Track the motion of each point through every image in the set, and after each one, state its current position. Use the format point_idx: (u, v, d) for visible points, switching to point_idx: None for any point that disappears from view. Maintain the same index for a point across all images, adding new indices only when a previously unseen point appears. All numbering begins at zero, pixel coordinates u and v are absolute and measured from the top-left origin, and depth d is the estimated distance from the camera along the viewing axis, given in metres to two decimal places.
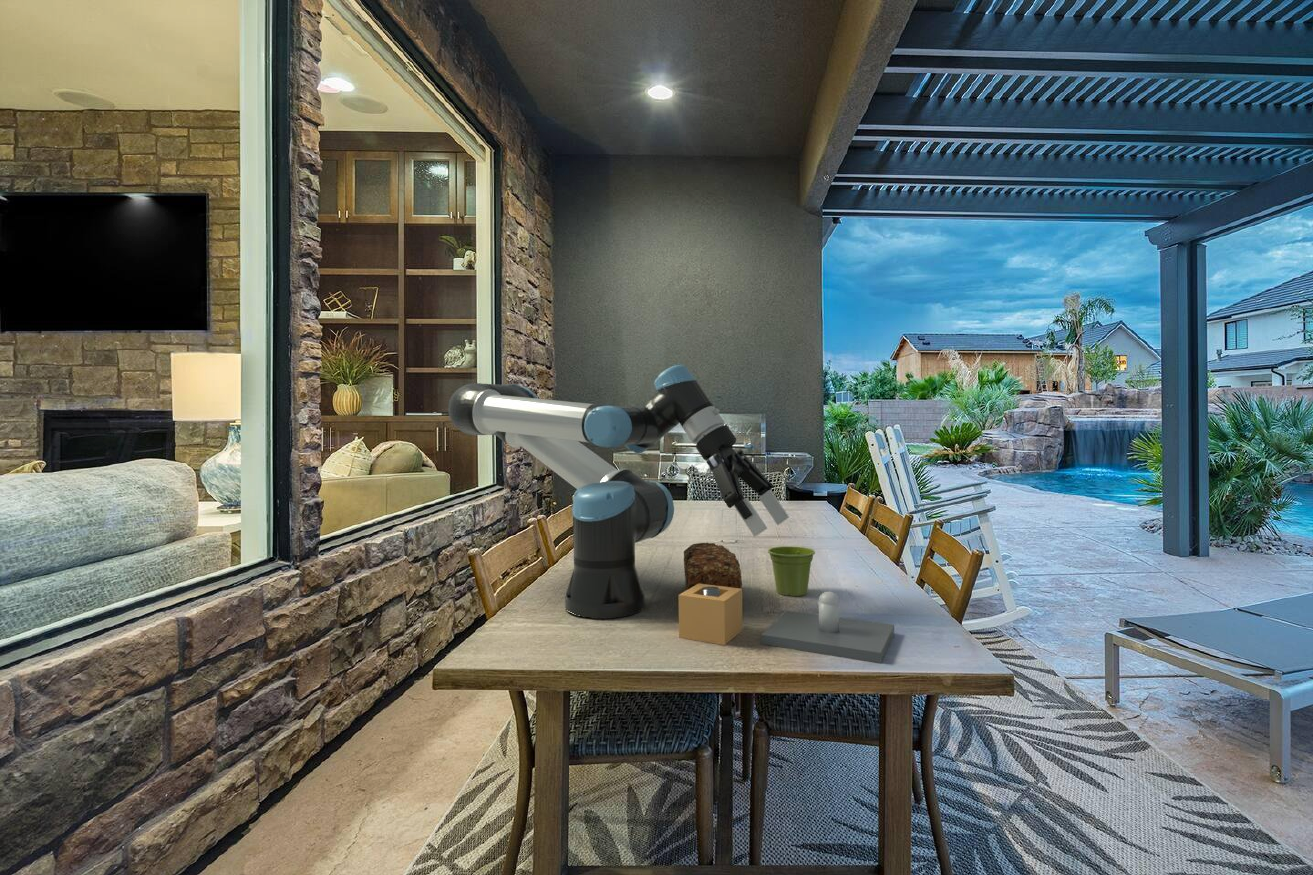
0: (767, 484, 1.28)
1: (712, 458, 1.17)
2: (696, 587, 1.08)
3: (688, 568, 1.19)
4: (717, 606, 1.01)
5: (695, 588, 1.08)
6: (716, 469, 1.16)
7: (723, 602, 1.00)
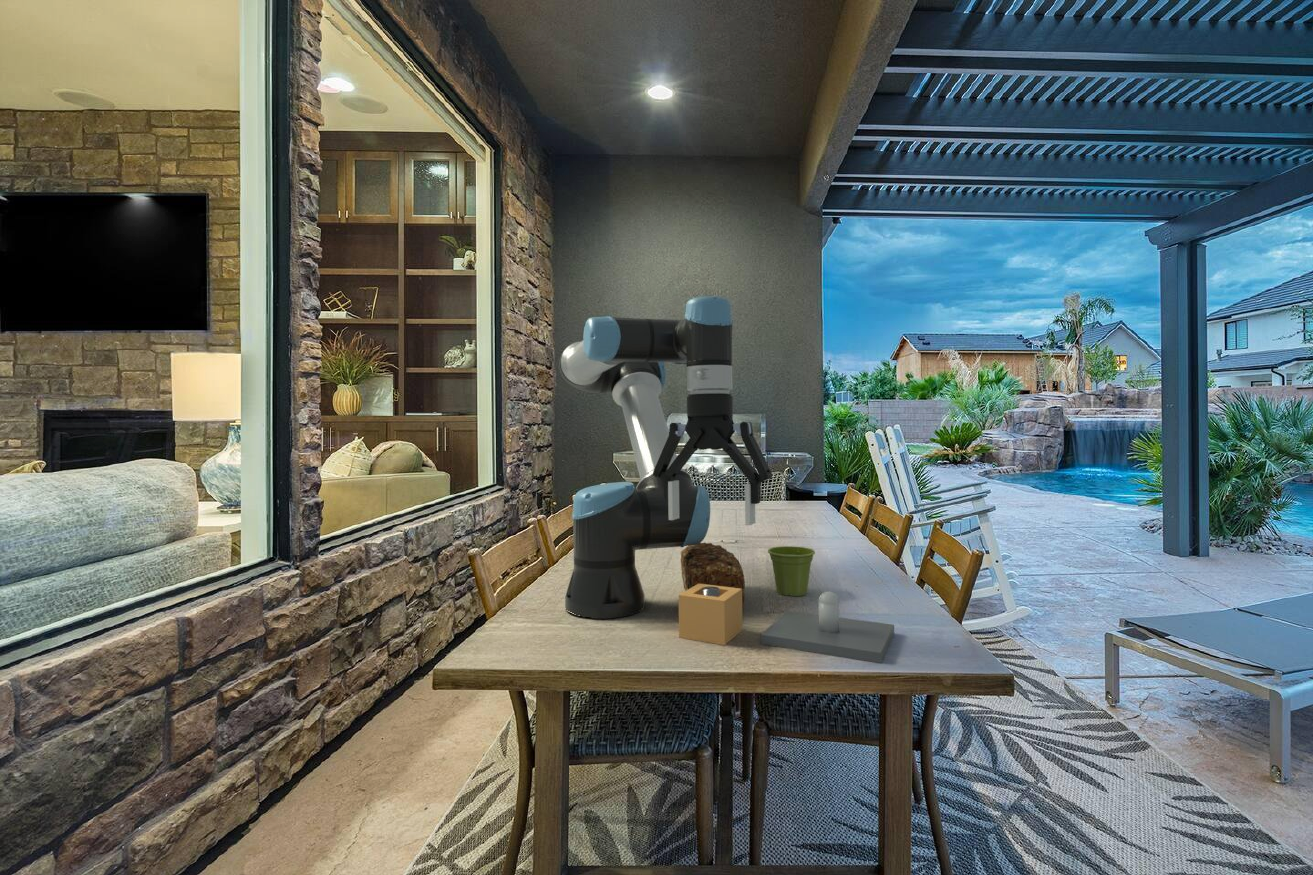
0: (754, 476, 1.00)
1: None
2: (696, 587, 1.08)
3: (691, 568, 1.18)
4: (717, 606, 1.01)
5: (695, 588, 1.08)
6: None
7: (723, 602, 1.00)
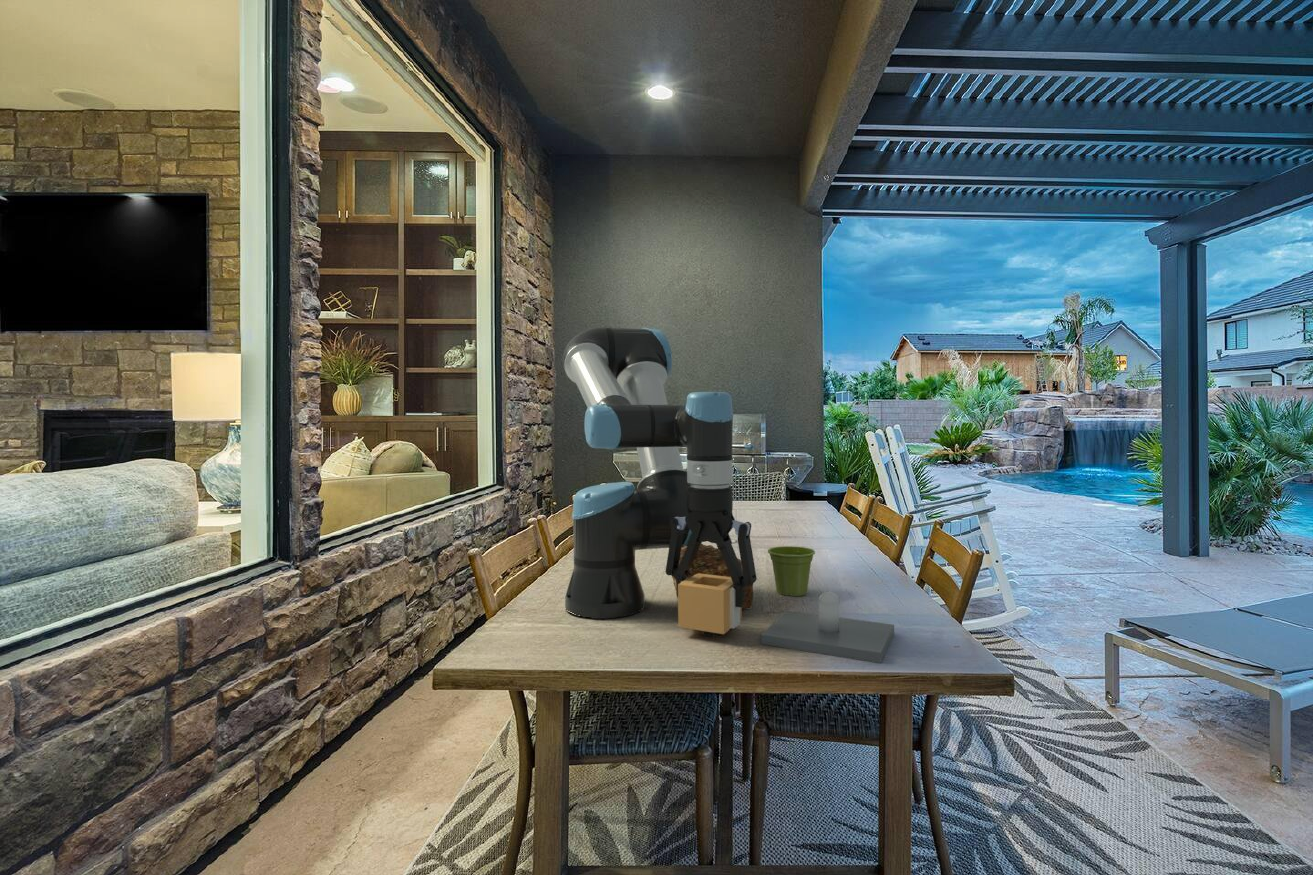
0: (739, 581, 1.02)
1: None
2: (696, 576, 1.09)
3: (702, 569, 1.17)
4: (716, 595, 1.01)
5: (694, 578, 1.08)
6: None
7: (722, 591, 1.01)
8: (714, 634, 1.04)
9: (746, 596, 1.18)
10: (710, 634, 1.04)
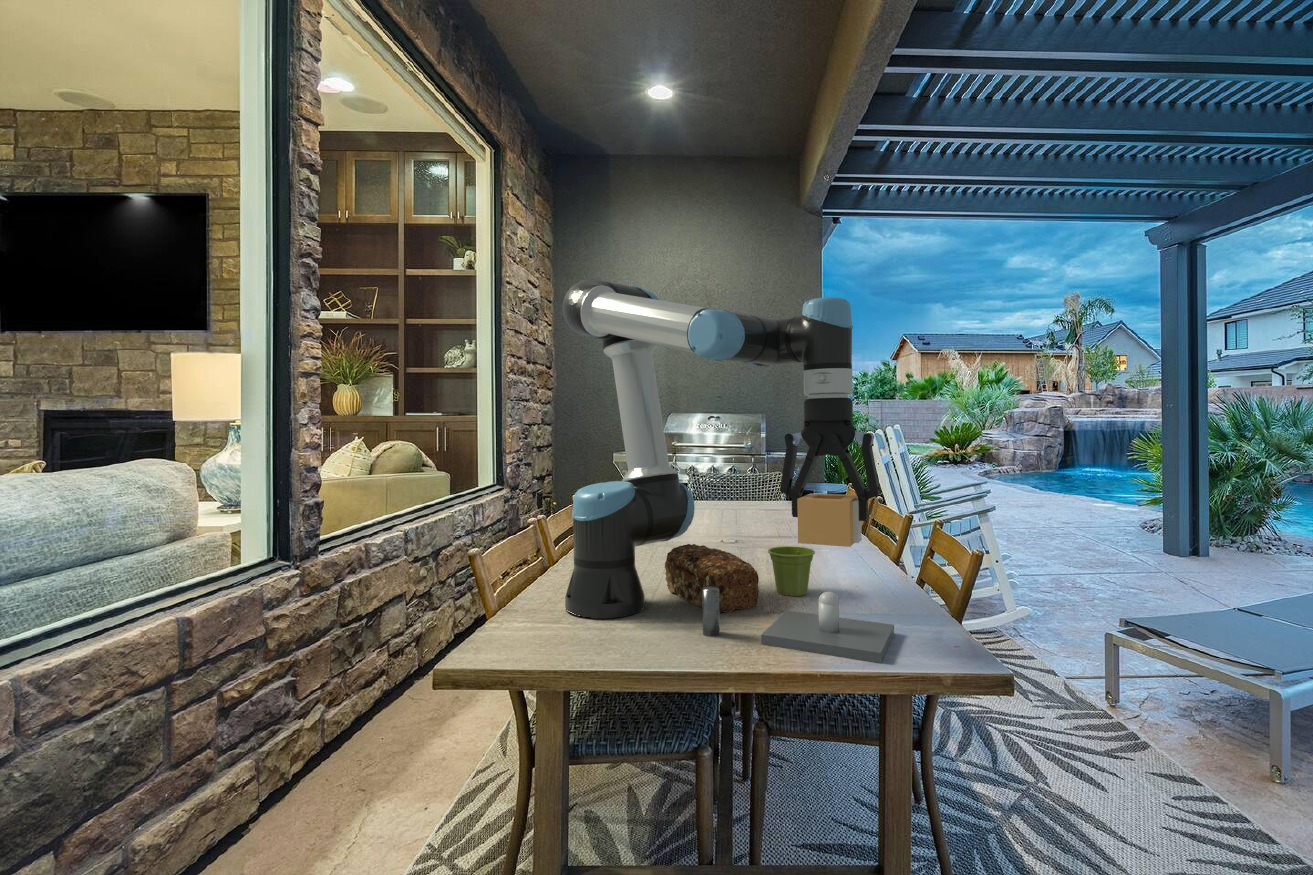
0: (863, 493, 0.98)
1: None
2: (811, 495, 1.05)
3: (712, 570, 1.17)
4: (842, 506, 0.97)
5: (810, 495, 1.04)
6: None
7: (848, 502, 0.96)
8: (714, 634, 1.04)
9: (752, 594, 1.20)
10: (710, 634, 1.04)
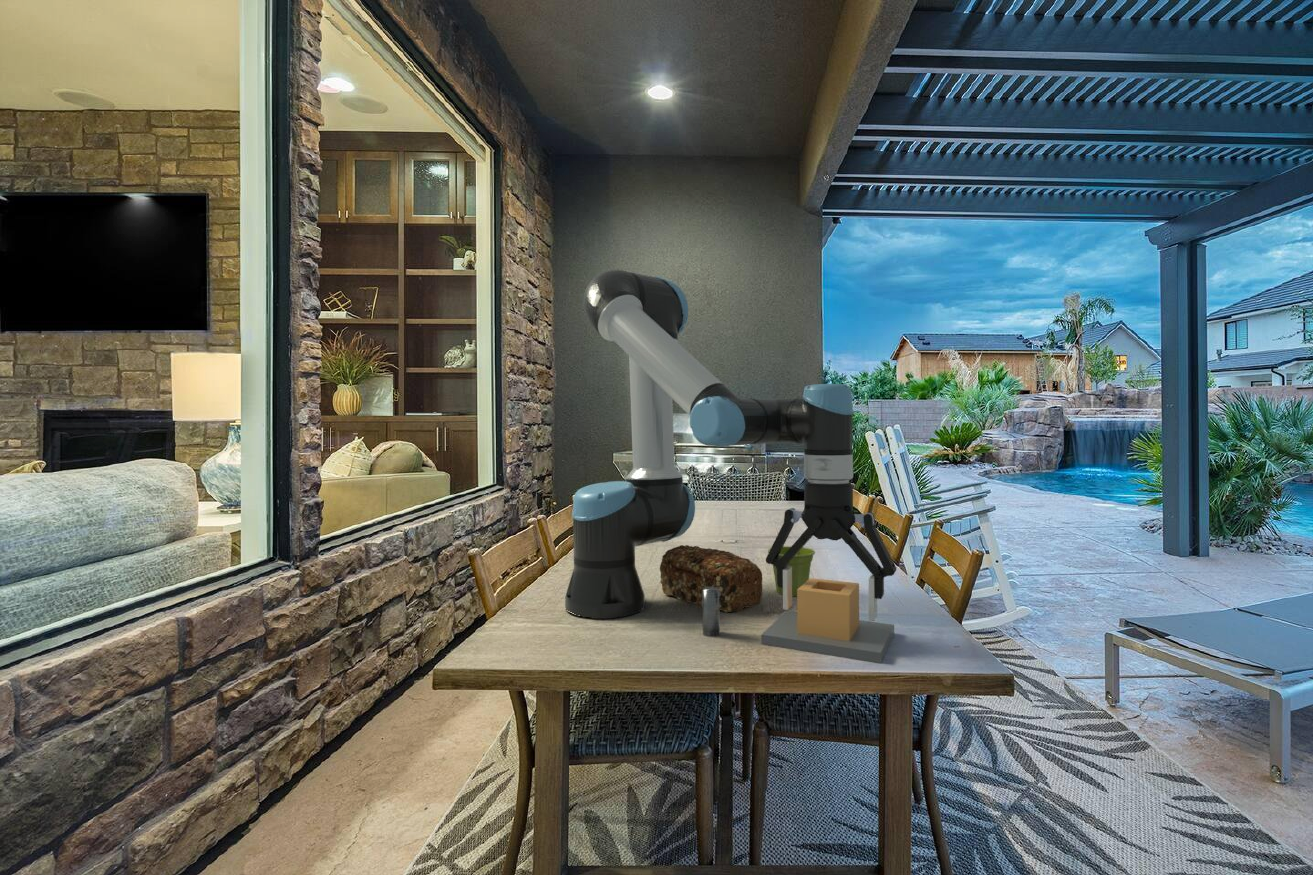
0: (878, 571, 0.97)
1: None
2: (810, 581, 1.05)
3: (723, 570, 1.17)
4: (841, 600, 0.97)
5: (810, 583, 1.04)
6: None
7: (848, 597, 0.97)
8: (714, 634, 1.04)
9: (757, 591, 1.22)
10: (710, 634, 1.04)
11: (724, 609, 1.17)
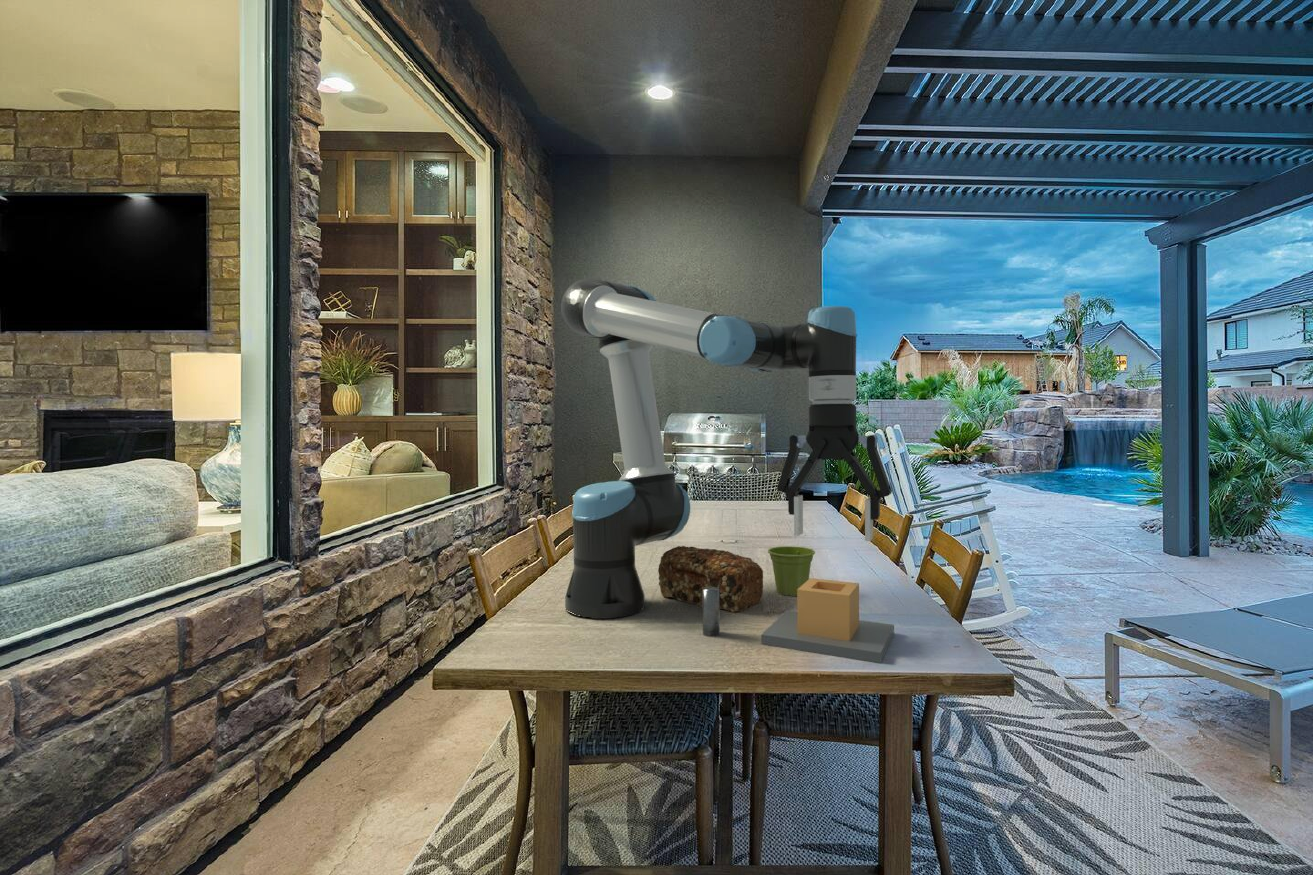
0: (875, 492, 1.00)
1: None
2: (810, 581, 1.05)
3: (730, 569, 1.17)
4: (841, 600, 0.97)
5: (810, 583, 1.04)
6: None
7: (848, 597, 0.97)
8: (714, 634, 1.04)
9: (759, 590, 1.23)
10: (710, 634, 1.04)
11: (731, 609, 1.17)
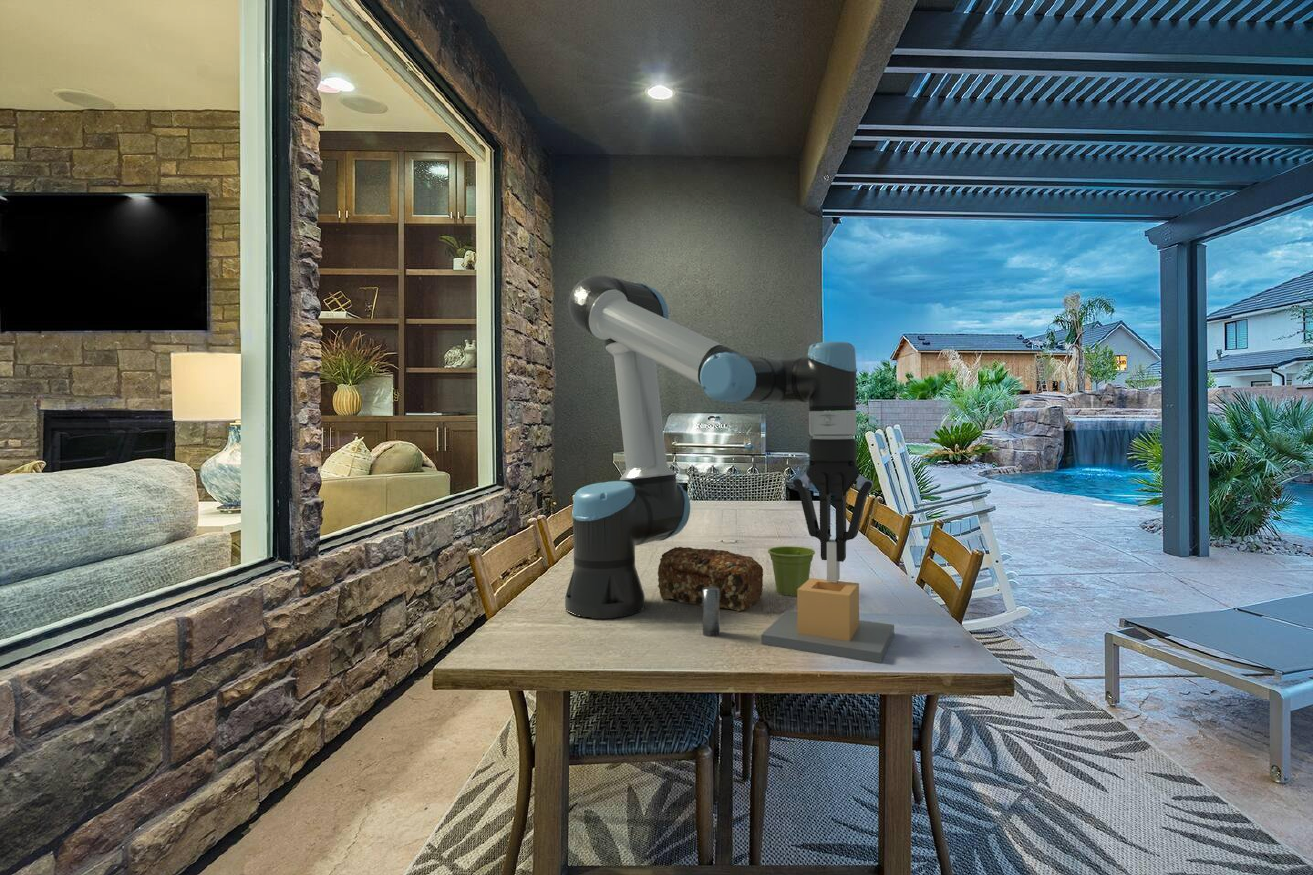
0: (842, 537, 1.03)
1: None
2: (810, 581, 1.05)
3: (736, 569, 1.17)
4: (841, 600, 0.97)
5: (810, 583, 1.04)
6: None
7: (848, 597, 0.97)
8: (714, 634, 1.04)
9: (760, 588, 1.24)
10: (710, 634, 1.04)
11: (737, 608, 1.18)
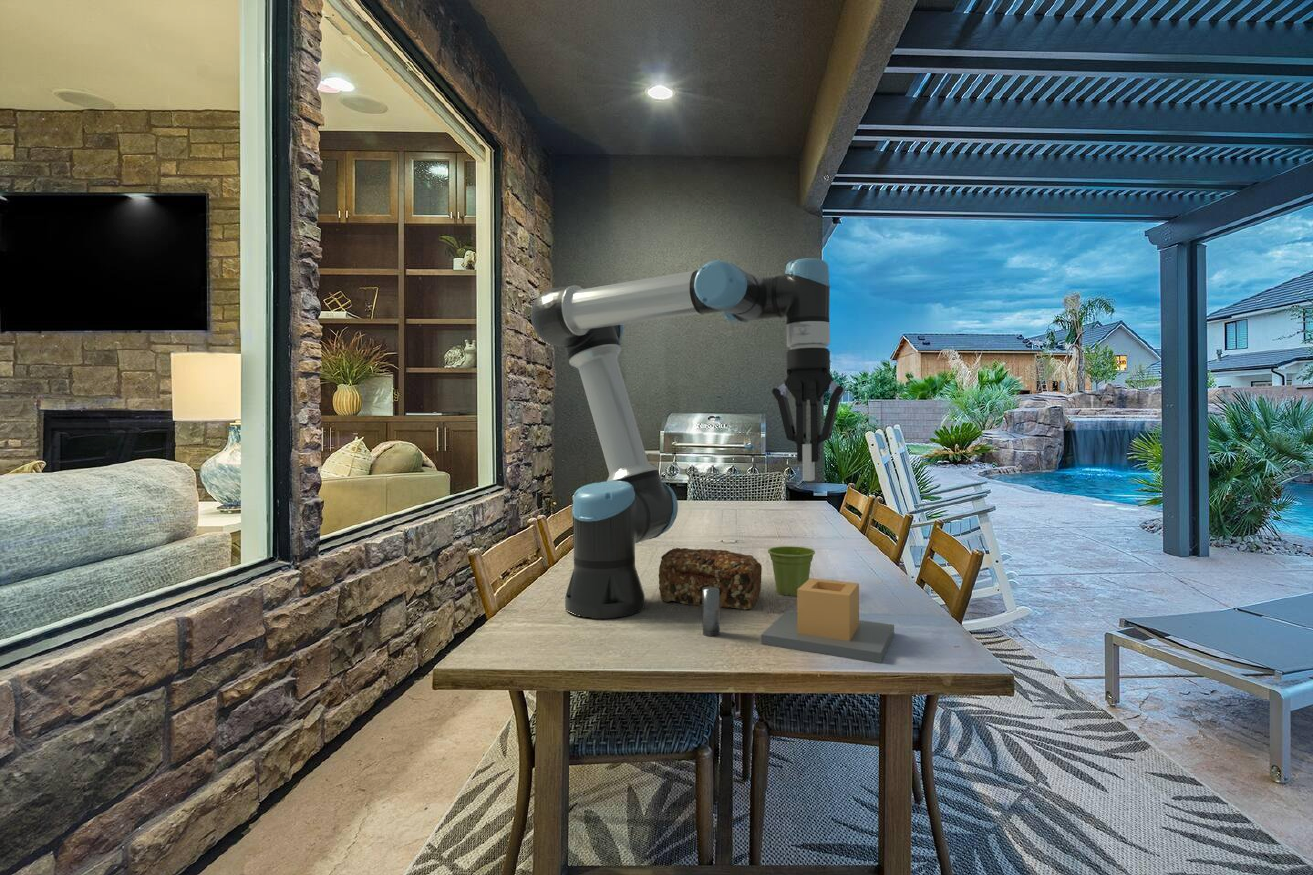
0: (816, 438, 1.12)
1: None
2: (810, 581, 1.05)
3: (743, 568, 1.18)
4: (841, 600, 0.97)
5: (810, 583, 1.04)
6: None
7: (848, 597, 0.97)
8: (714, 634, 1.04)
9: (759, 586, 1.26)
10: (710, 634, 1.04)
11: (743, 607, 1.18)
